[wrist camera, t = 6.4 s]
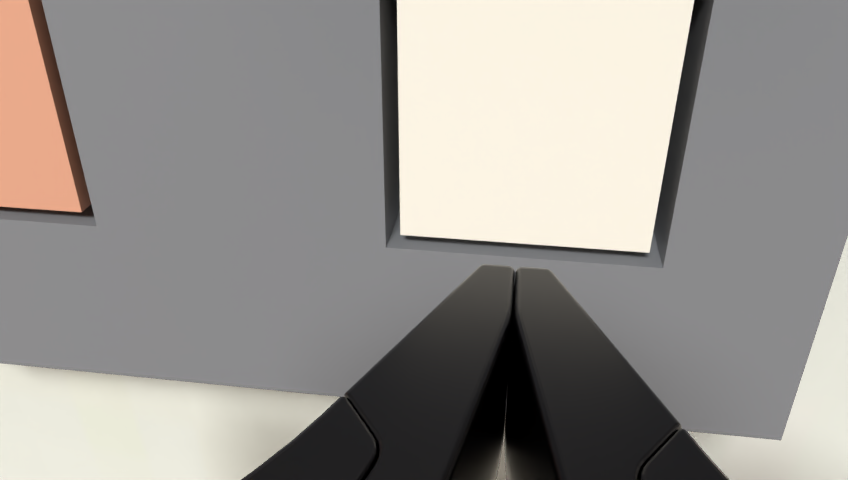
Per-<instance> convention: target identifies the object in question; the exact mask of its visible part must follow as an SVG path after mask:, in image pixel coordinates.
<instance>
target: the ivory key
mask: <svg viewBox="0 0 848 480" xmlns="http://www.w3.org/2000/svg"><path fill="white" fill-rule="evenodd" d="M693 5H694V0H397V42H398V110H399V178H400V235H409V236H423V237H437V238H451V239H464V240H478V241H492V242H506V243H520V244H534V245H548V246H562V247H576V248H590V249H604V250H618V251H632V252H646V253H650V247H651V242H652V236H653V230H654V225H655V219H656V213H657V208H658V202H659V197H660V191H661V185H662V180H663V174H664V168H665V163H666V157H667V151H668V146H669V140H670V134H671V129H672V123H673V118H674V112H675V106H676V101H677V95H678V89H679V84H680V78H681V72H682V67H683V61H684V56H685V50H686V44H687V39H688V33H689V27H690V22H691V16H692V10H693Z"/></svg>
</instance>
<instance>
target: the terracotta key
mask: <svg viewBox="0 0 848 480" xmlns="http://www.w3.org/2000/svg"><path fill="white" fill-rule="evenodd" d="M90 205H91V201H90V197H89V193H88V189H87V184H86V180H85V176H84V172H83V168H82V164H81V160H80V156H79V152H78V148H77V144H76V139H75V135H74V131H73V127H72V123H71V119H70V115H69V111H68V107H67V103H66V99H65V94H64V90H63V86H62V82H61V78H60V74H59V70H58V66H57V62H56V58H55V53H54V49H53V45H52V41H51V37H50V33H49V29H48V25H47V21H46V17H45V13H44V8H43V4H42V0H0V207H14V208H27V209H41V210H55V211H69V212H83V211H84V210H85V209H86V208H87V207H89V206H90Z"/></svg>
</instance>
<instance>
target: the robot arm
mask: <svg viewBox="0 0 848 480" xmlns="http://www.w3.org/2000/svg"><path fill="white" fill-rule="evenodd" d="M514 282H515V283H514ZM506 399H507V401H506ZM505 412H506V417H505ZM504 426H505V441H504V446H505V467H506V480H729V479H728V478H727V476H726V475H725V474H724V473H723V472H722V471H721V470H720V469H719V468H718V466H717V465H716V464H715V463H714V462H713V461H712V460H711V459H710V458H709V456H708V455H707V454H706V453H705V452H704V451H703V450H702V448H701V447H700V446H699V445H698V444H697V443H696V441H695V440H694V439H693V438H692V437H691V435H690V434H689V433H688V432H687V431H686V430H685V429H682V426H681V424H680V423H679V422H678V420H677V419H676V418H675V417H674V416H673V415H672V413H671V412H670V411H669V410H668V409H667V407H666V406H665V405H664V404H663V403H662V401H661V400H660V399H659V398H658V397H657V396H656V394H655V393H654V392H653V391H652V390H651V388H650V387H649V386H648V385H647V384H646V382H645V381H644V380H643V379H642V378H641V377H640V375H639V374H638V373H637V372H636V371H635V369H634V368H633V367H632V366H631V365H630V364H629V362H628V361H627V360H626V359H625V358H624V356H623V355H622V354H621V353H620V352H619V350H618V349H617V348H616V347H615V346H614V345H613V343H612V342H611V341H610V340H609V339H608V337H607V336H606V335H605V334H604V333H603V331H602V330H601V329H600V328H599V327H598V326H597V324H596V323H595V322H594V321H593V320H592V318H591V317H590V316H589V315H588V314H587V312H586V311H585V310H584V309H583V308H582V307H581V305H580V304H579V303H578V302H577V301H576V299H575V298H574V297H573V296H572V295H571V294H570V292H569V291H568V290H567V289H566V288H565V286H564V285H563V284H562V283H561V282H560V280H559V279H558V278H557V277H556V276H555V275H554V273H553V272H552V271H551V270H549V269H546V268H532V267H519V268H518V269H517V270H516V272H515V270H514V268H512V267H511V266H504V265H490V264H483V265H481V266H479V267H478V268H477V269H476V270H475V271H474V272H473V273H472V274H471V275H470V276H468V277H467V278H466V279H465V280H464V281H463V282H462V283H461V284H460V285H459V286H458V287H457V288H456V289H455V290H454V291H453V292H452V293H450V294H449V295H448V296H447V297H446V298H445V299H444V300H443V301H442V302H441V303H440V304H439V305H438V306H437V307H436V308H435V309H434V310H432V311H431V312H430V313H429V314H428V315H427V316H426V317H425V318H424V319H423V320H422V321H421V322H420V323H419V324H418V325H417V326H416V327H414V328H413V329H412V330H411V331H410V332H409V333H408V334H407V335H406V336H405V337H404V338H403V339H402V340H401V341H400V342H399V343H398V344H396V345H395V346H394V347H393V348H392V349H391V350H390V351H389V352H388V353H387V354H386V355H385V356H384V357H383V358H382V359H381V360H380V361H378V362H377V363H376V364H375V365H374V366H373V367H372V368H371V369H370V370H369V371H368V372H367V373H366V374H365V375H364V376H363V377H361V378H360V379H359V380H358V381H357V382H356V383H355V384H354V385H353V386H352V387H351V388H350V389H349V390H348V391H347V392H346V393H345V394H344V397H340V398H339V399H338V400H337V401H336V402H335V403H334V404H332V405H331V406H330V407H329V408H328V409H327V410H326V411H325V412H324V413H323V414H322V415H321V416H320V417H318V418H317V419H316V420H315V421H314V422H313V423H312V424H310V425H309V426H308V427H307V428H306V429H305V430H304V431H303V432H301V433H300V434H299V435H298V436H297V437H296V438H295V439H293V440H292V441H291V442H290V443H289V444H287V445H286V446H285V447H283V448H282V449H281V450H280V451H278V452H277V453H276V454H274V455H273V456H272V457H271V458H269V459H268V460H267V461H265V462H264V463H263V464H262V465H260V466H259V467H258V468H256V469H255V470H254V471H252V472H251V473H250V474H248V475H247V476H246V477H244V478H243V479H242V480H496V477H497V472H498V468H499V463H500V457H501V451H502V445H503V436H504Z"/></svg>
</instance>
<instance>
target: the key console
mask: <svg viewBox="0 0 848 480" xmlns="http://www.w3.org/2000/svg"><path fill="white" fill-rule="evenodd" d="M42 4H43V8H44V13H45V17H46V21H47V25H48V29H49V33H50V37H51V41H52V45H53V49H54V53H55V58H56V62H57V66H58V70H59V74H60V78H61V82H62V86H63V90H64V94H65V99H66V103H67V107H68V111H69V115H70V119H71V123H72V127H73V131H74V135H75V139H76V144H77V148H78V152H79V156H80V160H81V164H82V168H83V172H84V176H85V180H86V184H87V189H88V193H89V197H90V201H91V205H90V206H89V207H87V208H86V209H85V210H84V211H83V212H69V211H55V210H41V209H27V208H14V207H0V363H4V364H15V365H25V366H35V367H45V368H55V369H65V370H75V371H85V372H96V373H106V374H116V375H126V376H136V377H146V378H156V379H166V380H177V381H187V382H197V383H207V384H217V385H227V386H237V387H247V388H258V389H268V390H278V391H288V392H298V393H308V394H318V395H328V396H339V397H344V394H345V393H346V392H347V391H348V390H349V389H350V388H351V387H352V386H353V385H354V384H355V383H356V382H357V381H358V380H359V379H360V378H361V377H363V376H364V375H365V374H366V373H367V372H368V371H369V370H370V369H371V368H372V367H373V366H374V365H375V364H376V363H377V362H378V361H380V360H381V359H382V358H383V357H384V356H385V355H386V354H387V353H388V352H389V351H390V350H391V349H392V348H393V347H394V346H395V345H396V344H398V343H399V342H400V341H401V340H402V339H403V338H404V337H405V336H406V335H407V334H408V333H409V332H410V331H411V330H412V329H413V328H414V327H416V326H417V325H418V324H419V323H420V322H421V321H422V320H423V319H424V318H425V317H426V316H427V315H428V314H429V313H430V312H431V311H432V310H434V309H435V308H436V307H437V306H438V305H439V304H440V303H441V302H442V301H443V300H444V299H445V298H446V297H447V296H448V295H449V294H450V293H452V292H453V291H454V290H455V289H456V288H457V287H458V286H459V285H460V284H461V283H462V282H463V281H464V280H465V279H466V278H467V277H468V276H470V275H471V274H472V273H473V272H474V271H475V270H476V269H477V268H478V267H479V266H481V265H483V264H490V265H504V266H511V267H512V268H514V270H515V272H516V270H517V269H518V268H519V267H532V268H546V269H549V270H551V271H552V272H553V273H554V275H555V276H556V277H557V278H558V279H559V280H560V282H561V283H562V284H563V285H564V286H565V288H566V289H567V290H568V291H569V292H570V294H571V295H572V296H573V297H574V298H575V299H576V301H577V302H578V303H579V304H580V305H581V307H582V308H583V309H584V310H585V311H586V312H587V314H588V315H589V316H590V317H591V318H592V320H593V321H594V322H595V323H596V324H597V326H598V327H599V328H600V329H601V330H602V331H603V333H604V334H605V335H606V336H607V337H608V339H609V340H610V341H611V342H612V343H613V345H614V346H615V347H616V348H617V349H618V350H619V352H620V353H621V354H622V355H623V356H624V358H625V359H626V360H627V361H628V362H629V364H630V365H631V366H632V367H633V368H634V369H635V371H636V372H637V373H638V374H639V375H640V377H641V378H642V379H643V380H644V381H645V382H646V384H647V385H648V386H649V387H650V388H651V390H652V391H653V392H654V393H655V394H656V396H657V397H658V398H659V399H660V400H661V401H662V403H663V404H664V405H665V406H666V407H667V409H668V410H669V411H670V412H671V413H672V415H673V416H674V417H675V418H676V419H677V420H678V422H679V423H680V424H681V426H682V429H685V430H686V431H693V432H703V433H713V434H723V435H734V436H744V437H754V438H764V439H774V440H781V439H782V436H783V432H784V429H785V426H786V423H787V420H788V417H789V414H790V411H791V408H792V405H793V402H794V399H795V396H796V393H797V389H798V386H799V383H800V380H801V377H802V374H803V371H804V368H805V365H806V362H807V359H808V356H809V353H810V350H811V347H812V343H813V340H814V337H815V334H816V331H817V328H818V325H819V322H820V319H821V316H822V313H823V310H824V307H825V304H826V301H827V297H828V294H829V291H830V288H831V285H832V282H833V279H834V276H835V273H836V270H837V267H838V264H839V261H840V258H841V254H842V251H843V248H844V245H845V242H846V239H847V236H848V0H694V5H693V10H692V16H691V22H690V27H689V33H688V39H687V44H686V50H685V56H684V61H683V67H682V72H681V78H680V84H679V89H678V95H677V101H676V106H675V112H674V118H673V123H672V129H671V134H670V140H669V146H668V151H667V157H666V163H665V168H664V174H663V180H662V185H661V191H660V197H659V202H658V208H657V213H656V219H655V225H654V230H653V236H652V242H651V247H650V253H646V252H632V251H618V250H604V249H590V248H576V247H562V246H548V245H534V244H520V243H506V242H492V241H478V240H464V239H451V238H437V237H423V236H409V235H400V178H399V110H398V42H397V0H42ZM514 283H515V282H514ZM506 401H507V399H506ZM505 413H506V412H505Z"/></svg>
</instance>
